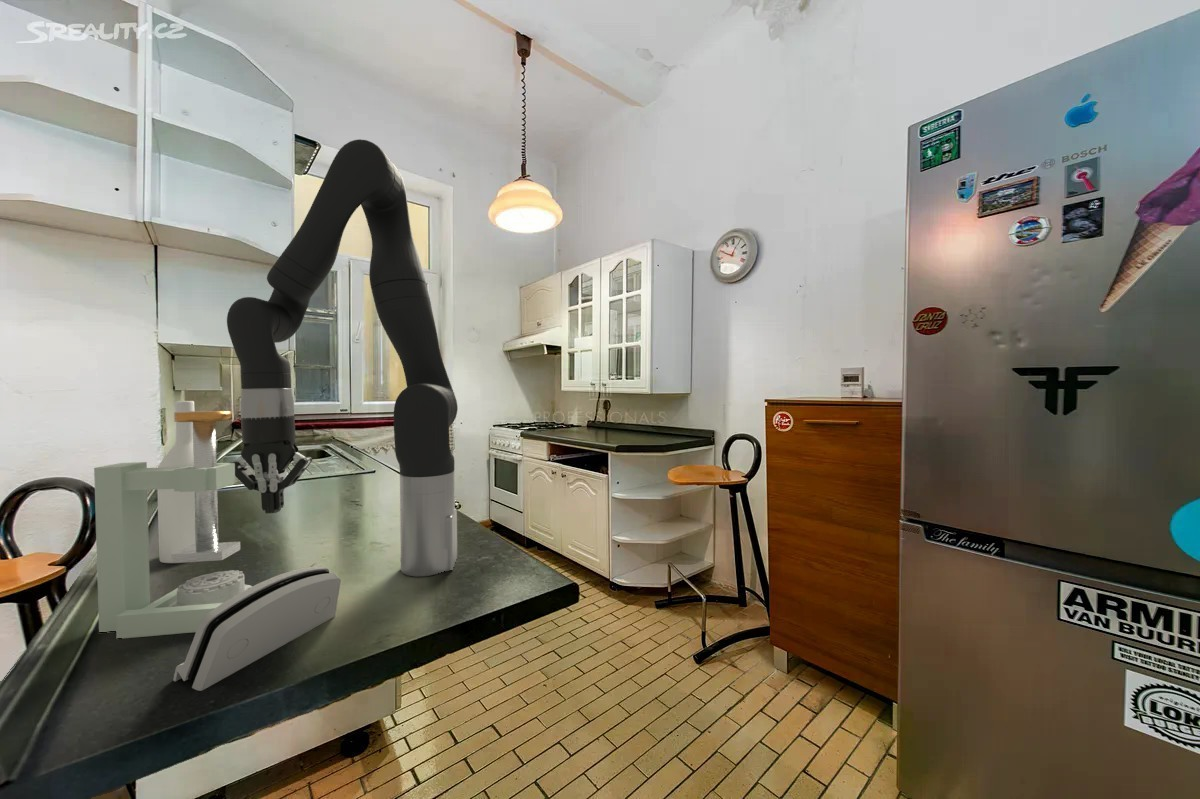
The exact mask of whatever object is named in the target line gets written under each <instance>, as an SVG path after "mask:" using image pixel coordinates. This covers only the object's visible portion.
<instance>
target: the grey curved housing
mask: <svg viewBox="0 0 1200 799" xmlns="http://www.w3.org/2000/svg"><path fill="white" fill-rule="evenodd" d="M340 588H341V578H340V577H339V576H338V575H337V574H336V573H335V572H330V570H329V568H326V567H324V566H321V565H320V566H319V565H317V566H316V565H315V566H307V567H302V568H297V569H294V570H290V571H287V572H284V573H281V574H278V575H275V576H272V577H271V578H270V577H269V578H268V579H266V580H264V581H261V582H258V583H256V584H255V585H253V587H251V588H249V589H247V590H245V591H243V592H241V593H239V594H238V595H236V596H234V597H232V598H231V599H229V600H227V601H226V602H224V603H223V604H221V605H219V606H218V607H216V608H215V609H213V610H212V611H210V612H209V613H207V614H206V615H205V616H204V617H203V618H202V620H201V621H200V623H199V626H198V629H197V631H196V632H195V634H194V635H193V636H194V637H193V639H192V642H191V645H190V647H189V650H188V652H187V655H186V657H185V660H184V662H182V663H180V664H179V665H177V666H176V667H175V670H174V674H173V678H172V679H173V681H174V683H175V682H177V681H179V680H181V679H182V681H183V682H185V681H188V680H192V679H193V683H192V686H191V688H192V689H193V690H195V691H200V692H201V691H204V690H206V689H207V688H210V687H211V686H213V685H215V684H216V683H218V682H220V681H222V680H224V679H225V678H227V677H229V676H231V675H233V674H235V673H236V672H238V671H240V670H242V669H243V668H246V667H248V665H250V664H252V663H254V662H256V661H258V660H260V659H261V658H263V657H265V656H267V655H268V654H270V653H272V652H273V651H275V650H277V649H279V648H281V647H282V646H284V645H286V644H288V643H289V642H291V641H294V640H296V639H297V638H299V637H301V636H303V635H305V634H306V633H307V632H310V631H311V630H313V629H315V628H316V627H318V626H320V625H322V624H324V623H325V622H328V621H330V620H331V619H332V618H334V617H336V612H337V608H338V601H339V593H340Z"/></svg>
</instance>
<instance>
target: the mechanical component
mask: <svg viewBox="0 0 1200 799" xmlns="http://www.w3.org/2000/svg"><path fill="white" fill-rule="evenodd" d="M253 586H254V585H253ZM253 586H252V585H250V584H245V573H243V570H238V569H237V570H234V569H230V570H223V571H219V570H218V571H215V572H211V573H207V574H201V575H199V576H196V577H192V578H191V579H187V580H185V582H184V583H182V584H180V585H178V586H177V588H178V589H177V588H176V589H177V601H175V602H174V603H172V604H170V605H169V606H168V607H176V606H189V605H202V604H215V603H224V602H226V601H227V600H229V599H231V598H232V597H234V596H236V595H238V594H239V593H241V592H243V591H245V590H247V589H249V588H251V587H253Z"/></svg>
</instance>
